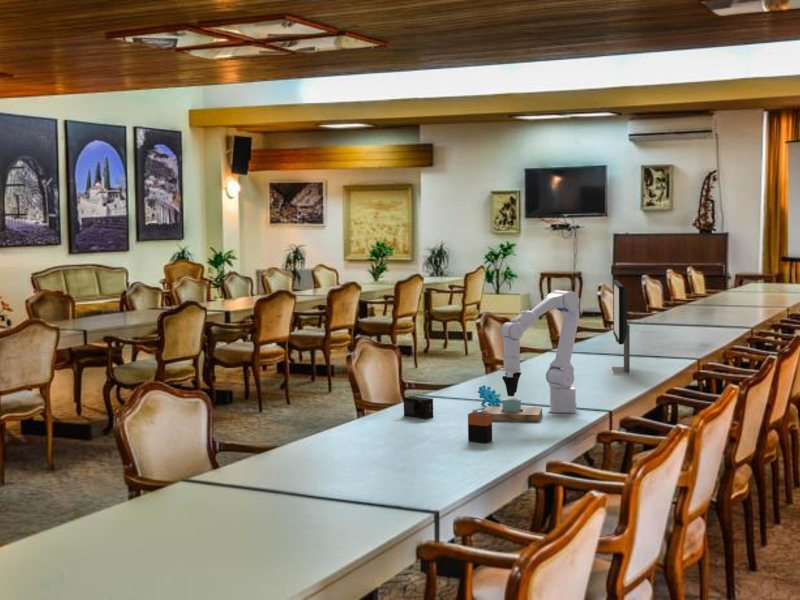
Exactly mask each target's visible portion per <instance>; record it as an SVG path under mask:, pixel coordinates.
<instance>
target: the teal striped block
mask: <svg viewBox="0 0 800 600" xmlns="http://www.w3.org/2000/svg"><path fill="white" fill-rule="evenodd" d="M521 402H522V399H521V398H519V397H518V398H515V397H514V398H513V397H512V398H511V397H510V398H509V397H507V398H505V397H504V398H503V399H502V407H503V412H521V407H522V405H521V404H522V403H521Z"/></svg>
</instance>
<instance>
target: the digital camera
mask: <svg viewBox="0 0 800 600" xmlns="http://www.w3.org/2000/svg"><path fill="white" fill-rule="evenodd" d="M403 417H407V418H415V419H420V420H428V419H431V418H432V419H433V418H434V398H430V397H422V396H416V395H409V396H408V395H407V396H404V397H403Z"/></svg>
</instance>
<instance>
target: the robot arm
mask: <svg viewBox="0 0 800 600" xmlns="http://www.w3.org/2000/svg"><path fill="white" fill-rule="evenodd" d="M580 300H581V299H580V298H579V296H578V294H577V293H576V292H574V291H572V290H570V291H569V290H560V289H554V290H552V291H551V292H550V293H548V294H547V295H546V297H545V298H544V299H542V300H541V301H540V302H539V303H538V304H537V305H535V306H534V307H533V308H531V310H527V309H526V310H522V311H520V314H519V315H517V316H516V317H513V318H512V319H511V320H510V322H509V321H508V322H507V321H506V322H504V323H503V324H502V325H501V327H500V330H499V334H500V336H501V337H502V342H503V343H502V344H503V367H501V368H500V371H501V372H504V374H505V375H502V376H501V377H502V380H503V382H504V385H505V389H506V393H507V396H508V397H515V395H516V393H517V390H518V384H519V379H520V377H521V375H522V372H521V353H520V352H521V348H520V347H521V345H520V344H521V343H520V341H521V340H520V339H521V338H522V337H523V335H524V332H525V331H526V330H528V329H529V328H531V327H532V326H533V325H535V324H536V323H537V319H538V318H539V317H541V316H542V315H544V314H545V313H547V312H549V311H550V310H551V309H554V308H555V310H557V311H558V312H559V313H560V314H561V315H562V317H563V319H562V324H561V328H560V334H559V339H558V343H557V348H556V353H555V354H556V355H555V358H554V359H553V360H552V362H551V363H550V364H549V366H548V369H547V370H546V373H545V379H546V382H547V383H548V386H549V395H550V396H549V404H550V405H549V406H550V407H549V409H548V413H558V414H559V413H562V414H563V413H567V414H569V413H570V414H575V413H576V410H577V402H576V399H577V397H576V396H577V394H576V392H577V391H576V387H574V386H573V384H574V382H575V374H574V372H575V367H574V366H573V364H572V362H571V360H572V356H573V351H574V344H575V340H576V335H577V330H578V326H579V325H578V324H579V319H580V308H579V307H580V306H579V305H580ZM572 386H573V387H572Z"/></svg>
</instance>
